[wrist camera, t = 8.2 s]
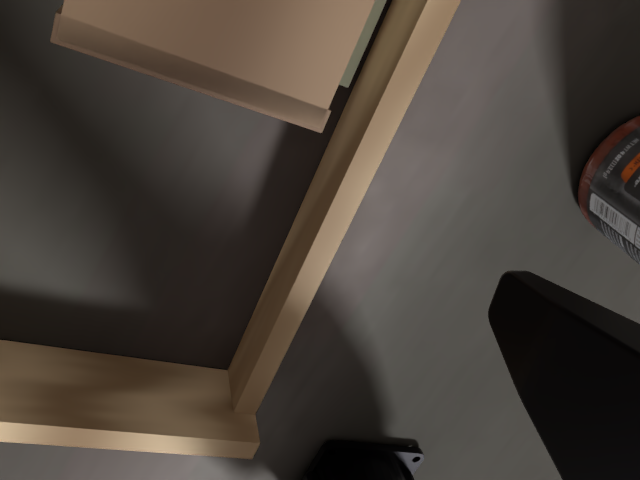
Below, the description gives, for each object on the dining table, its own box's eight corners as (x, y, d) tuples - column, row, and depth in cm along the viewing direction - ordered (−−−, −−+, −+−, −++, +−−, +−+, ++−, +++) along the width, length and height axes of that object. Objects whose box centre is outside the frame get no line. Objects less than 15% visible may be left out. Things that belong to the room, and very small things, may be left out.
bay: (457, -77, 18) (524, -67, 15) (240, 388, 27) (252, 459, 23) (-45, -360, 12) (-118, -445, 9) (-110, 345, 21) (-159, 430, 18)
